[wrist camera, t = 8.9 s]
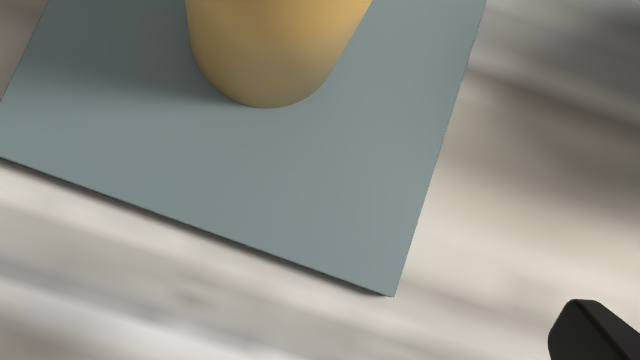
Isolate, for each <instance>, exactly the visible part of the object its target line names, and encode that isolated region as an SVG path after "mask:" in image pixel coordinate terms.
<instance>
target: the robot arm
mask: <svg viewBox="0 0 640 360" xmlns="http://www.w3.org/2000/svg"><path fill="white" fill-rule="evenodd" d="M548 350H549V354H550V358H551V360H640V333H638V332H637V331H636V330H634V329H633V328H632V327H631V326H629V325H628V324H627V323H625V322H624V321H623V320H622V319H620V318H619V317H618V316H616V315H615V314H614V313H612V312H611V311H610V310H609V309H607V308H606V307H605V306H603V305H602V304H601V303H599V302H597V301H594V300H584V299H572V300H570V301H569V302H567V303H566V305H565V306H564V308H563V310H562V311H561V313H560V315H559V316H558V318H557V320H556V322H555V323H554V325H553V327H552V328H551V330H550V332H549V335H548Z"/></svg>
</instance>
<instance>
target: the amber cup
mask: <svg viewBox="0 0 640 360" xmlns="http://www.w3.org/2000/svg"><path fill="white" fill-rule="evenodd" d="M372 1H373V0H185V5H186V13H187V21H188V29H189V36H190V44H191V49H192V53H193V56H194V59H195V61H196V63H197V66H198V67H199V69H200V71H201V72H202V74H203V75H204V76H205V78H206V79H207V80H208V81H209V83H210V84H212V85H213V86H214V87H215V88H216V89H217V90H218V91H219V92H221V93H222V94H223V95H225V96H227V97H229V98H230V99H232V100H234V101H236V102H239V103H241V104H244V105H248V106H252V107H258V108H278V107H284V106H288V105H292V104H294V103H297V102H300V101H302V100H303V99H305V98H307V97H309V96H310V95H311V94H313V93H314V92H315V91H317V90H318V89H319V88H320V87H321V86H322V85H323V83H324V82H325V81H326V79H327V78H328V77H329V75H330V73H331V71H332V70H333V68H334V66H335V65H336V63H337V61H338V59H339V58H340V56H341V54H342V52H343V51H344V49H345V47H346V46H347V44H348V42H349V40H350V39H351V37H352V35H353V33H354V32H355V30H356V28H357V27H358V25H359V23H360V21H361V20H362V18H363V16H364V14H365V13H366V11H367V9H368V8H369V6H370V4H371V2H372Z"/></svg>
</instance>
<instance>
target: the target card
mask: <svg viewBox="0 0 640 360" xmlns="http://www.w3.org/2000/svg"><path fill="white" fill-rule="evenodd" d="M485 3H486V0H373V1H372V2H371V4H370V6H369V8H368V9H367V11H366V13H365V14H364V16H363V18H362V20H361V21H360V23H359V25H358V27H357V28H356V30H355V32H354V33H353V35H352V37H351V39H350V40H349V42H348V44H347V46H346V47H345V49H344V51H343V52H342V54H341V56H340V58H339V59H338V61H337V63H336V65H335V66H334V68H333V70H332V71H331V73H330V75H329V77H328V78H327V79H326V81H325V82H324V83H323V85H322V86H321V87H320V88H319V89H318V90H317V91H315V92H314V93H313V94H311V95H310V96H309V97H307V98H305V99H303V100H302V101H300V102H297V103H294V104H292V105H288V106H284V107H278V108H258V107H252V106H248V105H244V104H241V103H239V102H236V101H234V100H232V99H230V98H229V97H227V96H225V95H223V94H222V93H221V92H219V91H218V90H217V89H216V88H215V87H214V86H213V85H212V84H210V83H209V81H208V80H207V79H206V78H205V76H204V75H203V74H202V72H201V71H200V69H199V67H198V66H197V63H196V61H195V59H194V56H193V53H192V49H191V44H190V36H189V29H188V21H187V13H186V5H185V0H49V2H48V4H47V6H46V8H45V10H44V12H43V14H42V16H41V18H40V20H39V23H38V25H37V27H36V29H35V31H34V33H33V35H32V37H31V39H30V41H29V43H28V45H27V48H26V50H25V52H24V54H23V56H22V58H21V60H20V62H19V64H18V66H17V68H16V70H15V73H14V75H13V77H12V79H11V81H10V83H9V85H8V87H7V89H6V91H5V93H4V95H3V98H2V100H1V102H0V157H1V158H4V159H6V160H9V161H12V162H15V163H18V164H20V165H23V166H26V167H29V168H31V169H34V170H37V171H40V172H43V173H45V174H48V175H51V176H54V177H56V178H59V179H62V180H65V181H68V182H70V183H73V184H76V185H79V186H82V187H84V188H87V189H90V190H93V191H95V192H98V193H101V194H104V195H107V196H109V197H112V198H115V199H118V200H121V201H123V202H126V203H129V204H132V205H134V206H137V207H140V208H143V209H146V210H148V211H151V212H154V213H157V214H159V215H162V216H165V217H168V218H171V219H173V220H176V221H179V222H182V223H185V224H187V225H190V226H193V227H196V228H198V229H201V230H204V231H207V232H210V233H212V234H215V235H218V236H221V237H224V238H226V239H229V240H232V241H235V242H237V243H240V244H243V245H246V246H249V247H251V248H254V249H257V250H260V251H262V252H265V253H268V254H271V255H274V256H276V257H279V258H282V259H285V260H288V261H290V262H293V263H296V264H299V265H301V266H304V267H307V268H310V269H313V270H315V271H318V272H321V273H324V274H326V275H329V276H332V277H335V278H338V279H340V280H343V281H346V282H349V283H352V284H354V285H357V286H360V287H363V288H365V289H368V290H371V291H374V292H377V293H379V294H382V295H385V296H388V297H394V296H395V293H396V290H397V286H398V283H399V280H400V277H401V274H402V270H403V267H404V264H405V261H406V257H407V254H408V251H409V248H410V245H411V241H412V238H413V235H414V232H415V229H416V225H417V222H418V219H419V216H420V212H421V209H422V206H423V203H424V200H425V196H426V193H427V190H428V187H429V183H430V180H431V177H432V174H433V171H434V167H435V164H436V161H437V158H438V155H439V151H440V148H441V145H442V142H443V138H444V135H445V132H446V129H447V126H448V122H449V119H450V116H451V113H452V110H453V106H454V103H455V100H456V97H457V93H458V90H459V87H460V84H461V81H462V77H463V74H464V71H465V68H466V64H467V61H468V58H469V55H470V52H471V48H472V45H473V42H474V39H475V36H476V32H477V29H478V26H479V23H480V19H481V16H482V13H483V10H484V7H485Z"/></svg>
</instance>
